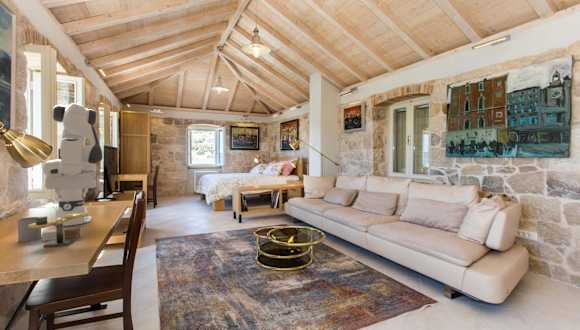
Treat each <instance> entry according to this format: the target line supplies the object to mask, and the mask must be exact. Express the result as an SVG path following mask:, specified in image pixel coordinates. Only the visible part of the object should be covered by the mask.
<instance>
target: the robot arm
mask: <svg viewBox="0 0 580 330" xmlns="http://www.w3.org/2000/svg"><path fill="white" fill-rule="evenodd" d="M51 115H52V118H53V120H54V121H55V122H58V123H62V124H63V131H62V134H61V135H62V137H61V141H60V147H59V148H58V151H57V152H58V154H57V155H58V159H51V160H50V159H49V160H47V161H45V163H44V164H43V165H42V171H43V173H44V175H45V176H46V178H45V186H44V187H45V188H46V189H47V190H54V192H55V194H56V195H57V199H59V200H58V203H57V204H58V208H57V209H56V210H55V216H54V219H55V220H54V222H56V220H57V219H63V220H64V219H68V218H65V215H67V214H71V213H81V212H85V213H88V208H86V207H85V198H86V197H87V196H86V194H87V193H88V191H89V189H94V188H96V187H97V179H96V177H97V169H98V168H97V164H99V163H100V162H101V161H102V160H103V157H104V152H103V150H102V147H101V145H100V142H99V139H98V135H97V134H98V133H97V132H96V128H95V127H94V125H96V123H97V122H98V115H97V112H96V110H94V109H90V108H89V109H88V108H86V107H84V106H83V105H82V104H79V103H70V104H68V105H64V104H56V105H54V107H53V108H52V110H51ZM85 138H86V139H88V141H89V144H88V145H87V144H85ZM92 218H93V217H92V216H90V215H88V216H85V217H79V218H77V219H73V220H70V221H66V222H64V223H63V227H64V226H67V227H68V226H75V225H81V224H87V223H90V222H91V221H92ZM55 225H56V224H55ZM55 225H54V226H55Z"/></svg>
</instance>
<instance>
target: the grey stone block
mask: <svg viewBox="0 0 580 330" xmlns="http://www.w3.org/2000/svg"><path fill="white" fill-rule="evenodd" d="M41 239H42V240H41V241H42V242H43V241H51V240H52V239H57V237H56V228H55V229H48V230H42V232H41Z"/></svg>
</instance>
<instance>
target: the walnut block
mask: <svg viewBox="0 0 580 330" xmlns="http://www.w3.org/2000/svg"><path fill="white" fill-rule="evenodd" d="M78 237H79V238H80V237H81V226H74V227H73V226H72V227H70V226H69V227H67V228H65V229H63V239H64V238H75V240H77V239H79V238H78Z"/></svg>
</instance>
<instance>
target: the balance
mask: <svg viewBox="0 0 580 330" xmlns="http://www.w3.org/2000/svg"><path fill="white" fill-rule="evenodd" d="M85 216H90V215H89V212H87V213H85V212H81V213H71V214H67V215H65V218H68V219H64V220H63V219H57V220H56V222H55V221H48V216H36V217H37V218H36V223H33V224H30V225H28V228H41V229H43V228H48V227H51V226H52V227H53V226H55V224H56V227H55V229H56V239H52V240H48V242H46V243H44V244H43V246H42V247H43V248H45V249H46V248H55V247H66V246H67V247H68V246H69V245H71V244H72V243H74V242H75V241H76V239H75V238H64V226H63V223H64V222H66V221H70V220H73V219H77V218H79V217H85Z"/></svg>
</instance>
